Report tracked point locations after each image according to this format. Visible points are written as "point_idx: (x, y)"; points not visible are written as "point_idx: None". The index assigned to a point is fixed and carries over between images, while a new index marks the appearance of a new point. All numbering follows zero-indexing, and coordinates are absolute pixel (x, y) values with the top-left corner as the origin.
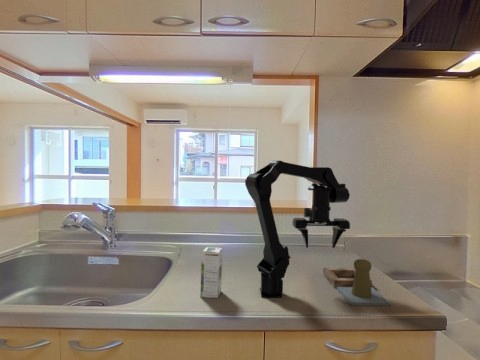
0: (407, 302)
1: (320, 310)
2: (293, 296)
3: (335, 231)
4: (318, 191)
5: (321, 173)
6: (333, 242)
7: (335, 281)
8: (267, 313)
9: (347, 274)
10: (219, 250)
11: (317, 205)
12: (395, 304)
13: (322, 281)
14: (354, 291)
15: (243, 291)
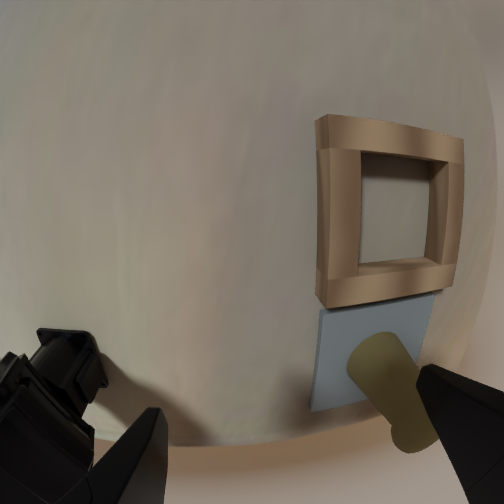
0: (446, 353)
1: (217, 435)
2: (141, 377)
3: (501, 487)
4: None
5: None
6: (442, 421)
7: (329, 305)
8: (100, 436)
9: (417, 158)
10: None
11: None
12: None
13: (285, 223)
14: (353, 379)
15: (12, 336)
